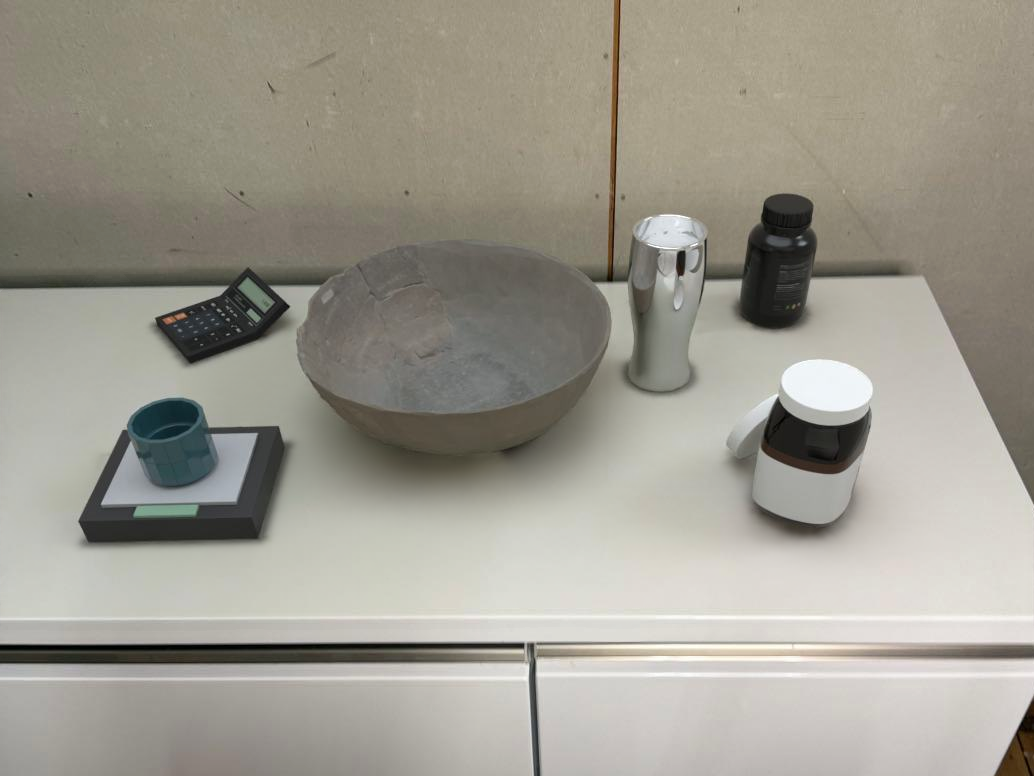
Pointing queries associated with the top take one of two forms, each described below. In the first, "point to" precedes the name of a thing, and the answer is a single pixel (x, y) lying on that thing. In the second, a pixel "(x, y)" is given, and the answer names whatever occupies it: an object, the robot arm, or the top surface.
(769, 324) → the supplement bottle
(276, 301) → the calculator
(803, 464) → the spread jar
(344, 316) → the bowl
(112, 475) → the kitchen scale
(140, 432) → the teal cup
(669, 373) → the beer glass
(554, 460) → the top surface
